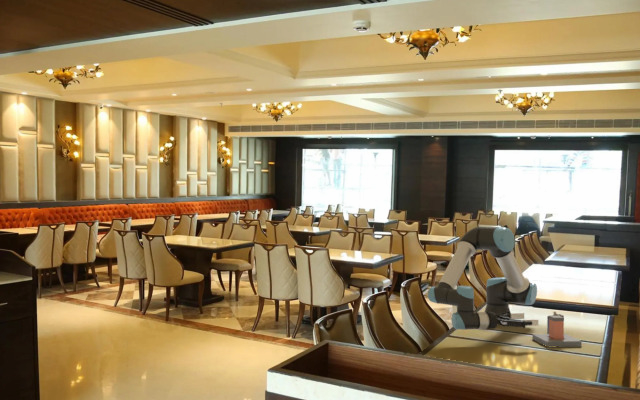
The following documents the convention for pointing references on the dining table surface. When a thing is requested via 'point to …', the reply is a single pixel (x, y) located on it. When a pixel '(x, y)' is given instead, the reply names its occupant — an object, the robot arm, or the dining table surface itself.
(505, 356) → the dining table surface
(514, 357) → the dining table surface
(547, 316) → the flask
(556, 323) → the plug
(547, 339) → the socket plate
